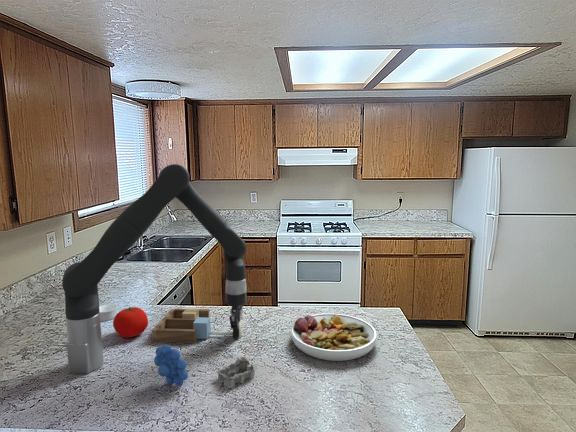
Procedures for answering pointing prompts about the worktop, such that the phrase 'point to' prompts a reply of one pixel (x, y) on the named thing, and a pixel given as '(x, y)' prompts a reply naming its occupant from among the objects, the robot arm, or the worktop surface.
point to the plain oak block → (190, 314)
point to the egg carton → (232, 371)
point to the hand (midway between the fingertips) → (237, 335)
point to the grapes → (171, 365)
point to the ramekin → (107, 312)
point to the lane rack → (176, 327)
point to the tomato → (130, 322)
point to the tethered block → (208, 328)
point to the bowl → (333, 336)
